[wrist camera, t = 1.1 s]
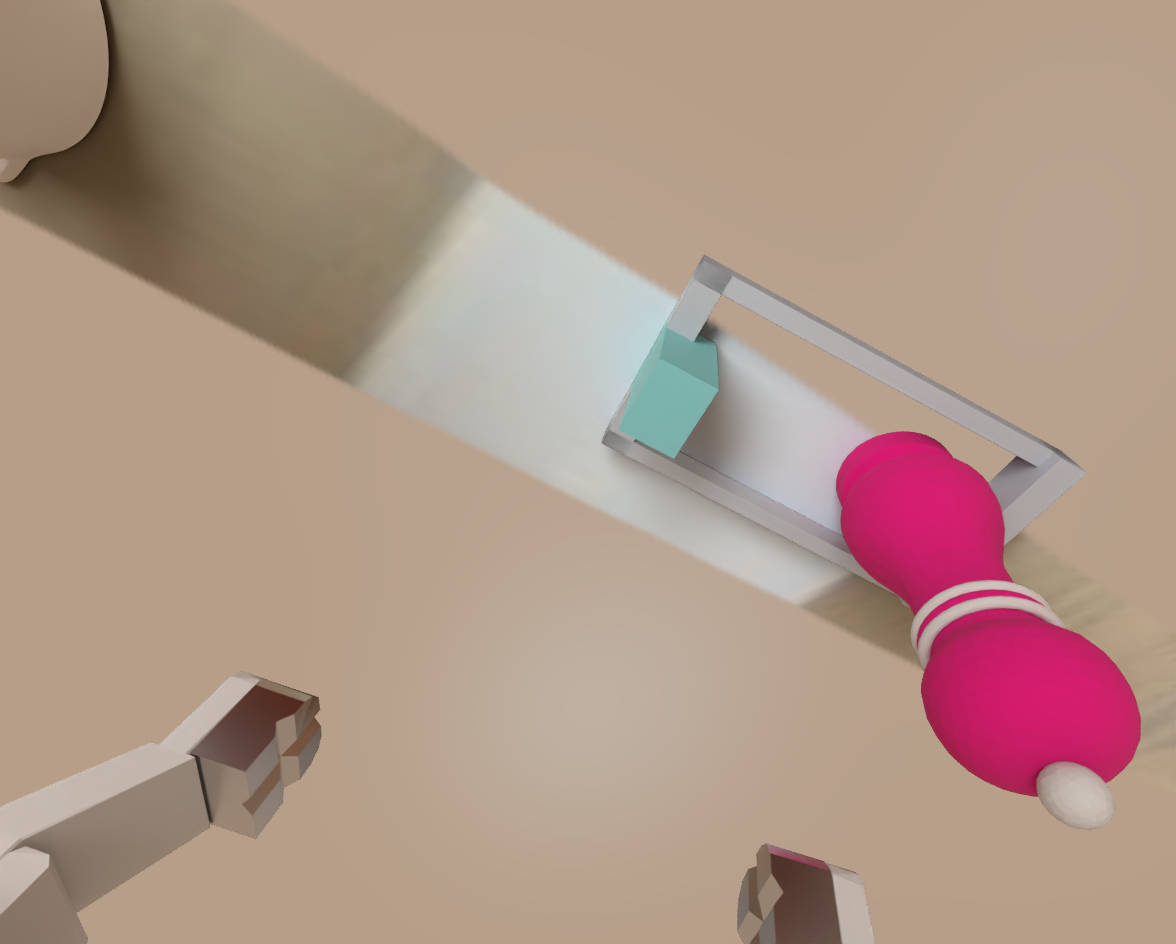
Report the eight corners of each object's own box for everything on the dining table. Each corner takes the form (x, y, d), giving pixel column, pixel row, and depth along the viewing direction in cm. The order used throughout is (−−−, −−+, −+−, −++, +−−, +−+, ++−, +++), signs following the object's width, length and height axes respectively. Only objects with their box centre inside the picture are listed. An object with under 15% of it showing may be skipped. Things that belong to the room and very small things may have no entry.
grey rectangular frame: (605, 430, 35) (585, 487, 29) (704, 254, 29) (703, 280, 23) (911, 588, 37) (951, 673, 31) (1061, 450, 31) (1147, 522, 25)
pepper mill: (976, 507, 33) (1264, 885, 16) (848, 545, 36) (979, 903, 19) (945, 402, 31) (1245, 716, 14) (809, 450, 34) (918, 764, 16)
